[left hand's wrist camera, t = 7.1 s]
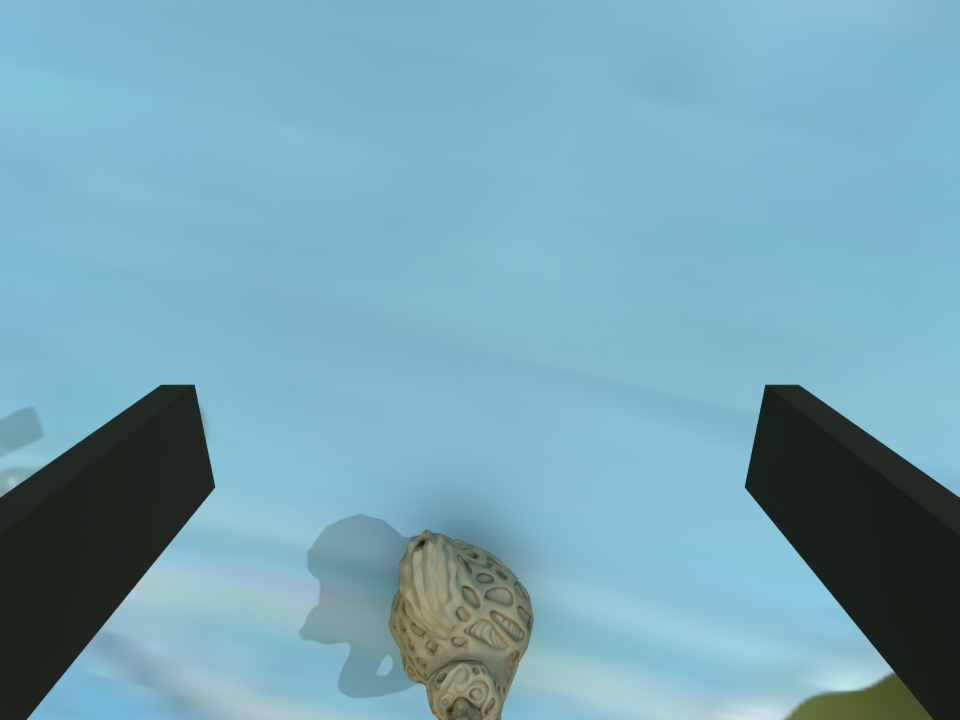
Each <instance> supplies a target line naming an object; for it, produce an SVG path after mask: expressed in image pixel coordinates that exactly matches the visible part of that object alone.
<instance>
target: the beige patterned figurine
mask: <svg viewBox="0 0 960 720" xmlns="http://www.w3.org/2000/svg"><path fill="white" fill-rule="evenodd" d="M399 569H400V578H399V582H398V588H399V591H398V592H397V593H396V595H395V596H394V599H393V603H392V609H391V616H390V620H389V622H388V624H389V628H390V631H391V634H392V636H393V638H394V639H395V641H396V643H397V644H398V646H399V648H400V651H401V656H402V661H403V667H404V671H405V673H406V675H407V676H408V677H409V678H410V679H411V680H413V681H415V682H416V683H421V684H424V685H425V686H426V690H427V697H428V701H429V706H430V709H431V711H432V714H433V715H435V716H436V717H437V718H438V719H439V720H501V712H502V708H503V704H504V701H505V699H506V696H507V694H508V691H509V689H510V686H511V684H512V681H513V678H514V676H515V673H516V671H517V667H518V664H519V661H520V660H521V658H522V656H523V655H524V653H525V651H526V649H527V647H528V643H529V639H530V636H531V631H532V625H533V620H534V619H533V614H532V608H531V602H530V597H529V595H528V593H527V590H526V589H525V588H524V587H523V585H522V584H521V583H520V582H517V581H518V578H517V577H516V576H515V575H514V574H513V573H512V572H511V571H510V569H509V568H507V567H506V566H505V565H504V564H503V563H502V562H501V560H500V559H499V558H497V557H495V556H494V555H492V554H490V553H488V552H486V551H484V550H482V549H481V548H479V547H475V546H472V545H469V544H466V543H464V542H462V541H460V540H455V541H452V540H451V539H450V538H448V537H447V536H445V535H442V534H437V533H433V532H431V531H429V530H426V531H424V532H423V533H422V534H421V535H419V536H416V537H414V538H412V539H411V541H410V542H408V549H407V552H406V554H405V555H404V557H403V558H402V560H401V561H400V563H399Z"/></svg>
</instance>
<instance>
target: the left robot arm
mask: <svg viewBox="0 0 960 720" xmlns="http://www.w3.org/2000/svg"><path fill="white" fill-rule="evenodd" d="M214 488H215V484H214V479H213V474H212V469H211V464H210V459H209V454H208V449H207V444H206V439H205V434H204V429H203V424H202V419H201V414H200V409H199V404H198V399H197V394H196V389H195V385H160V386H159V387H157V388H156V389H155V390H153V391H152V392H150V393H149V394H147V395H146V396H145V397H143V398H142V399H140V400H139V401H137V402H136V403H135V404H133V405H132V406H130V407H129V408H127V409H126V410H125V411H123V412H122V413H120V414H119V415H117V416H116V417H115V418H113V419H112V420H110V421H109V422H108V423H106V424H105V425H103V426H102V427H100V428H99V429H98V430H96V431H95V432H93V433H92V434H90V435H89V436H88V437H86V438H85V439H83V440H82V441H80V442H79V443H78V444H76V445H75V446H73V447H72V448H70V449H69V450H68V451H66V452H65V453H63V454H62V455H60V456H59V457H58V458H56V459H55V460H53V461H52V462H51V463H49V464H48V465H46V466H45V467H43V468H42V469H41V470H39V471H38V472H36V473H35V474H33V475H32V476H31V477H29V478H28V479H26V480H25V481H23V482H22V483H21V484H19V485H18V486H16V487H15V488H13V489H12V490H11V491H9V492H8V493H6V494H5V495H3V496H2V497H1V498H0V720H27V719H28V717H29V716H30V715H31V714H32V712H33V711H34V710H35V709H36V707H37V706H38V705H39V704H40V702H41V701H42V700H43V699H44V698H45V696H46V695H47V694H48V693H49V691H50V690H51V689H52V688H53V686H54V685H55V684H56V683H57V682H58V680H59V679H60V678H61V677H62V675H63V674H64V673H65V672H66V670H67V669H68V668H69V667H70V666H71V664H72V663H73V662H74V661H75V659H76V658H77V657H78V656H79V654H80V653H81V652H82V651H83V650H84V648H85V647H86V646H87V645H88V643H89V642H90V641H91V640H92V638H93V637H94V636H95V635H96V634H97V632H98V631H99V630H100V629H101V627H102V626H103V625H104V624H105V622H106V621H107V620H108V619H109V618H110V616H111V615H112V614H113V613H114V611H115V610H116V609H117V608H118V606H119V605H120V604H121V603H122V601H123V600H124V599H125V598H126V597H127V595H128V594H129V593H130V592H131V590H132V589H133V588H134V587H135V585H136V584H137V583H138V582H139V581H140V579H141V578H142V577H143V576H144V574H145V573H146V572H147V571H148V569H149V568H150V567H151V566H152V565H153V563H154V562H155V561H156V560H157V558H158V557H159V556H160V555H161V553H162V552H163V551H164V550H165V549H166V547H167V546H168V545H169V544H170V542H171V541H172V540H173V539H174V537H175V536H176V535H177V534H178V533H179V531H180V530H181V529H182V528H183V526H184V525H185V524H186V523H187V521H188V520H189V519H190V518H191V517H192V515H193V514H194V513H195V512H196V510H197V509H198V508H199V507H200V505H201V504H202V503H203V502H204V500H205V499H206V498H207V497H208V496H209V494H210V493H211V492H212V491H213V489H214ZM745 488H746V489H747V491H748V492H749V493H750V494H751V496H752V497H753V498H754V499H755V500H756V502H757V503H758V504H759V505H760V507H761V508H762V509H763V510H764V512H765V513H766V514H767V515H768V517H769V518H770V519H771V520H772V521H773V523H774V524H775V525H776V526H777V528H778V529H779V530H780V531H781V533H782V534H783V535H784V536H785V537H786V539H787V540H788V541H789V542H790V544H791V545H792V546H793V547H794V549H795V550H796V551H797V552H798V553H799V555H800V556H801V557H802V558H803V560H804V561H805V562H806V563H807V565H808V566H809V567H810V568H811V569H812V571H813V572H814V573H815V574H816V576H817V577H818V578H819V579H820V581H821V582H822V583H823V584H824V585H825V587H826V588H827V589H828V590H829V592H830V593H831V594H832V595H833V597H834V598H835V599H836V600H837V601H838V603H839V604H840V605H841V606H842V608H843V609H844V610H845V611H846V613H847V614H848V615H849V616H850V618H851V619H852V620H853V621H854V622H855V624H856V625H857V626H858V627H859V629H860V630H861V631H862V632H863V634H864V635H865V636H866V637H867V638H868V640H869V641H870V642H871V643H872V645H873V646H874V647H875V648H876V650H877V651H878V652H879V653H880V654H881V656H882V657H883V658H884V659H885V661H886V662H887V663H888V664H889V666H890V667H891V668H892V669H893V670H894V672H895V673H896V674H897V675H898V677H899V678H900V679H901V680H902V682H903V683H904V684H905V685H906V686H907V688H908V689H909V690H910V691H911V693H912V694H913V695H914V696H915V697H916V699H917V700H918V701H919V702H920V704H921V705H922V706H923V707H924V709H925V710H926V711H927V712H928V714H929V715H930V716H931V717H932V719H933V720H960V497H958V496H957V495H955V494H954V493H952V492H951V491H949V490H948V489H947V488H945V487H944V486H942V485H941V484H939V483H938V482H937V481H935V480H934V479H932V478H931V477H929V476H928V475H927V474H925V473H924V472H922V471H921V470H919V469H918V468H917V467H915V466H914V465H912V464H911V463H909V462H908V461H907V460H905V459H904V458H902V457H901V456H900V455H898V454H897V453H895V452H894V451H892V450H891V449H890V448H888V447H887V446H885V445H884V444H882V443H881V442H880V441H878V440H877V439H875V438H874V437H872V436H871V435H870V434H868V433H867V432H865V431H864V430H862V429H861V428H860V427H858V426H857V425H855V424H854V423H852V422H851V421H850V420H848V419H847V418H845V417H844V416H843V415H841V414H840V413H838V412H837V411H835V410H834V409H833V408H831V407H830V406H828V405H827V404H825V403H824V402H823V401H821V400H820V399H818V398H817V397H815V396H814V395H813V394H811V393H810V392H808V391H807V390H805V389H804V388H803V387H801V386H800V385H765V389H764V394H763V399H762V404H761V409H760V414H759V419H758V424H757V429H756V434H755V439H754V444H753V449H752V454H751V459H750V464H749V469H748V474H747V479H746V484H745Z"/></svg>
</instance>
